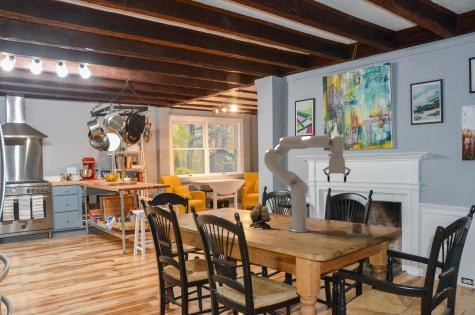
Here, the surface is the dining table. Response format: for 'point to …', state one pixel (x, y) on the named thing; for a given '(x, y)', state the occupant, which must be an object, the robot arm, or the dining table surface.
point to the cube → (356, 228)
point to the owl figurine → (260, 217)
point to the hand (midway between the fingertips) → (336, 182)
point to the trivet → (357, 234)
